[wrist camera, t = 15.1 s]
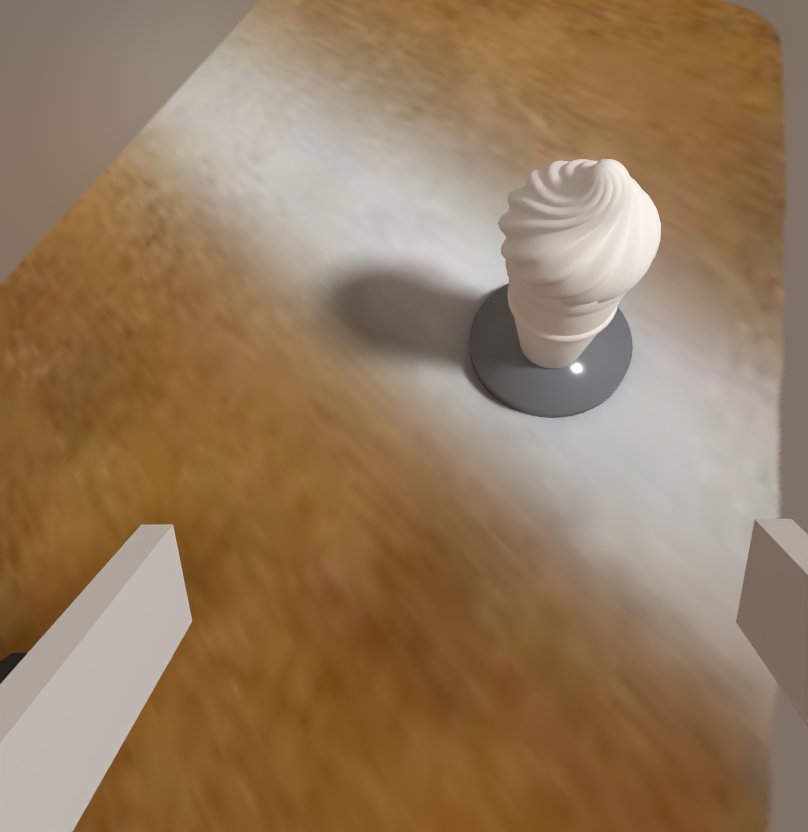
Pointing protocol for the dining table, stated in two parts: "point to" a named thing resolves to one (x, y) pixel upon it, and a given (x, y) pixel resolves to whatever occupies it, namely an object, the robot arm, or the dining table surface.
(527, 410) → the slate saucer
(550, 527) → the dining table surface
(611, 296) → the soft serve ice cream cone
